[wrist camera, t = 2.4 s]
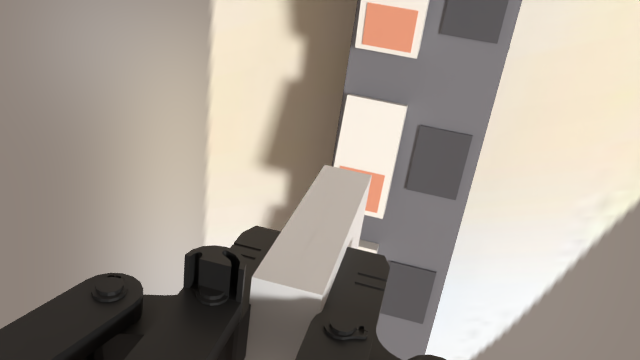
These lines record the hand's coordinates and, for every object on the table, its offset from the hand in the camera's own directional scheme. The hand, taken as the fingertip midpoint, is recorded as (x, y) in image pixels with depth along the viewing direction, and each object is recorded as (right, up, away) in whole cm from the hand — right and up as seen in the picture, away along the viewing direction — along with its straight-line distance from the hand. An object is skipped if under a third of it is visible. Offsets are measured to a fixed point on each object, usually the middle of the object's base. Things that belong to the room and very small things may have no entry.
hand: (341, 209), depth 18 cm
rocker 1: (+4, +11, +13) cm, 18 cm away
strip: (+6, +8, +20) cm, 22 cm away
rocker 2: (+2, +2, +17) cm, 17 cm away
